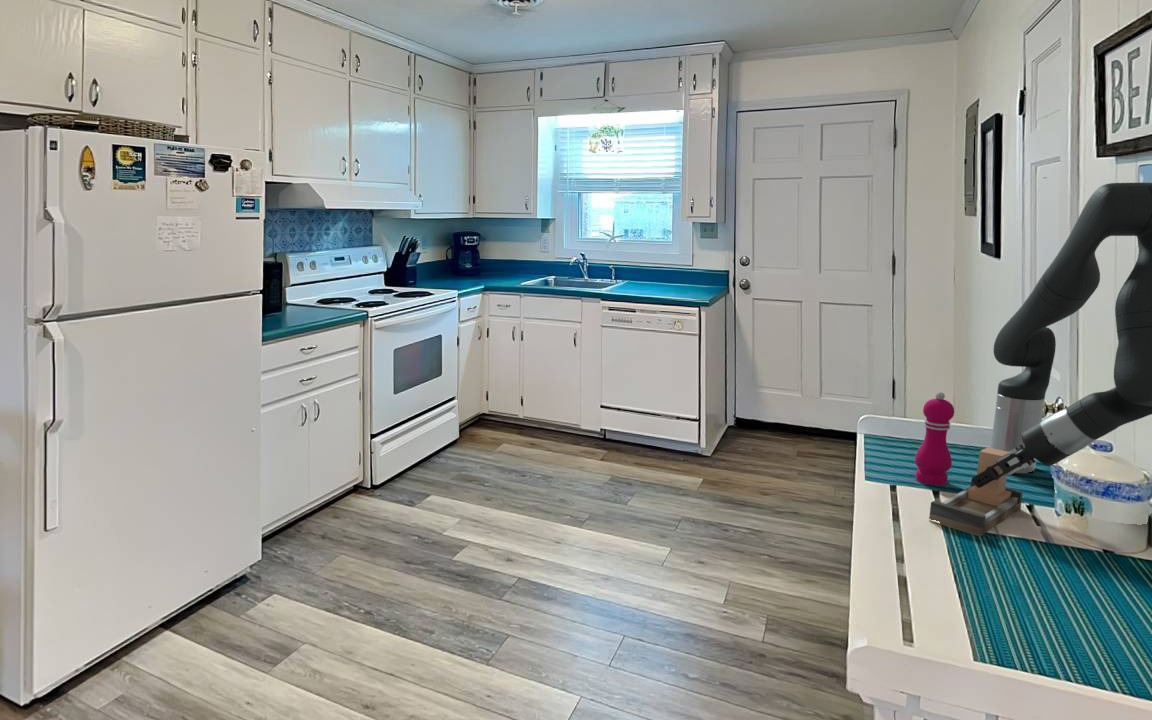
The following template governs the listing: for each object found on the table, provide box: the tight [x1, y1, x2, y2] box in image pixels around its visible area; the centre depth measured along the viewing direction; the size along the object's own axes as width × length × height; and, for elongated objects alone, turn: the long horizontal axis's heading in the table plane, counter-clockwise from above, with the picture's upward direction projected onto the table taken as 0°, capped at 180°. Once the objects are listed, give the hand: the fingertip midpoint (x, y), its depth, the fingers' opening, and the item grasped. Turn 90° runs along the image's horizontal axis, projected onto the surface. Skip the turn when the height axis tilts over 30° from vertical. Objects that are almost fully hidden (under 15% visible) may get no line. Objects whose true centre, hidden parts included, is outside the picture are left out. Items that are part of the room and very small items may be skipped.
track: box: [928, 479, 1024, 538], centre depth 134 cm, size 20×9×4 cm, turn 130°
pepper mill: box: [914, 391, 955, 486], centre depth 152 cm, size 7×7×20 cm
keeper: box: [968, 446, 1011, 507], centre depth 137 cm, size 5×6×10 cm
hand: (983, 478), depth 139 cm, fingers open, 8 cm apart
